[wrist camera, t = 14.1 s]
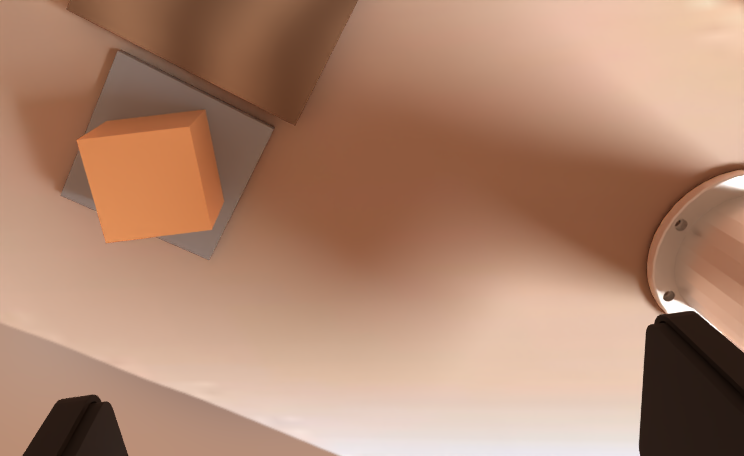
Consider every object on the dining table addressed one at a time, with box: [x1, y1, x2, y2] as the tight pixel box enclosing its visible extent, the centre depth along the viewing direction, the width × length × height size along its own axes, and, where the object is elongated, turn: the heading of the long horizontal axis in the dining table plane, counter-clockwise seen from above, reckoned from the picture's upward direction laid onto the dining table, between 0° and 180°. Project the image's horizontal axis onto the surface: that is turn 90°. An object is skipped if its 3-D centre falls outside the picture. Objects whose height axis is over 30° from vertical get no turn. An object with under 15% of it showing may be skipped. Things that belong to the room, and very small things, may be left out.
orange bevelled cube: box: [77, 109, 224, 243], centre depth 36 cm, size 6×6×5 cm
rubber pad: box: [61, 50, 274, 260], centre depth 39 cm, size 10×10×1 cm
